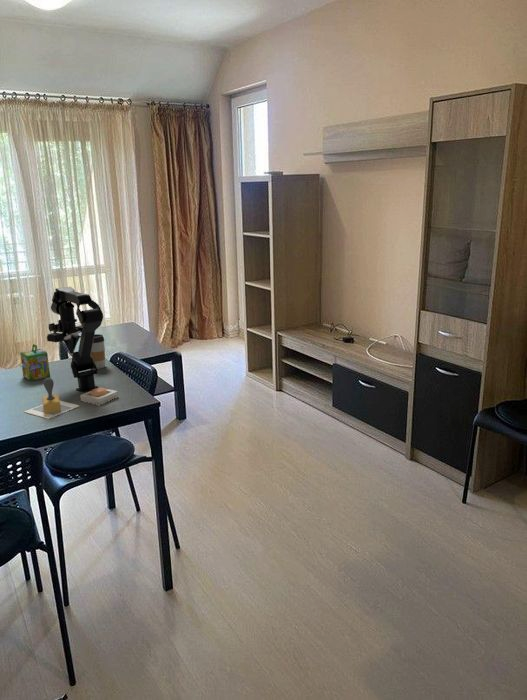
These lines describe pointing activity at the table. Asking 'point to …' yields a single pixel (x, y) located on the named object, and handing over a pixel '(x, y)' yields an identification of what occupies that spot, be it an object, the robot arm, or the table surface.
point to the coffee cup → (98, 351)
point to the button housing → (99, 400)
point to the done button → (98, 392)
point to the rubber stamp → (50, 398)
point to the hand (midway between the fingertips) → (71, 353)
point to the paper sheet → (40, 412)
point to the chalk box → (35, 364)
